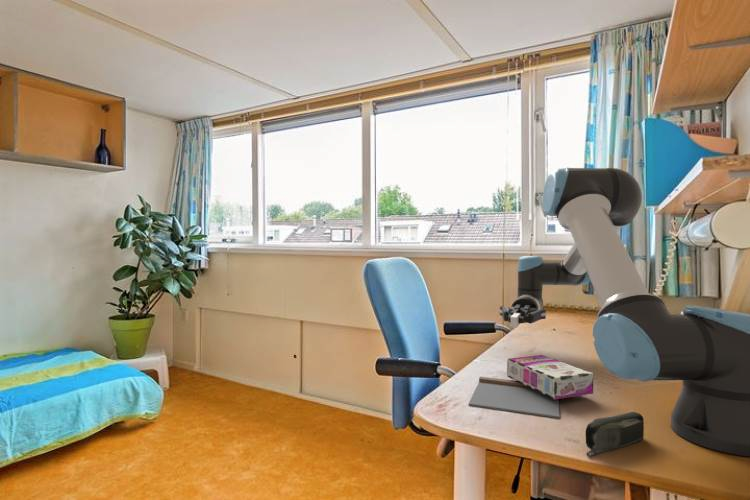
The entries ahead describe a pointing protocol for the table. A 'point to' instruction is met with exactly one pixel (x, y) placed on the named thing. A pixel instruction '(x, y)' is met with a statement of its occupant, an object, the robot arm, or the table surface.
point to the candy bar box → (550, 376)
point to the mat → (514, 400)
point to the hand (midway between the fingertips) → (513, 322)
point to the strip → (502, 382)
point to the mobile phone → (614, 432)
